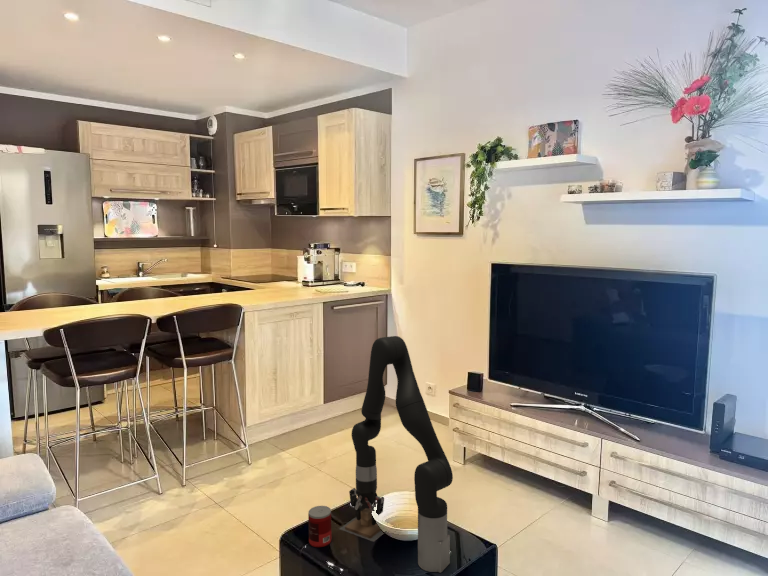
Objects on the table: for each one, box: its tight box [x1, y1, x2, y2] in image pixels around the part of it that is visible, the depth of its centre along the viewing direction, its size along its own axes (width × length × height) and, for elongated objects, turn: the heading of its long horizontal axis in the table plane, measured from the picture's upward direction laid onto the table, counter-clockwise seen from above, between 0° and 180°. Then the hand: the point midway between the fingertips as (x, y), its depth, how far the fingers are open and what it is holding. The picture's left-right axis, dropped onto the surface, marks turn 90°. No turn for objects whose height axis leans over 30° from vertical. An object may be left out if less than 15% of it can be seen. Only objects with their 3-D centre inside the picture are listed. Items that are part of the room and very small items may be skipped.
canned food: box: [307, 505, 333, 548], centre depth 182 cm, size 8×8×11 cm
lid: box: [345, 507, 381, 539], centre depth 191 cm, size 11×11×6 cm
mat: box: [339, 516, 385, 543], centre depth 191 cm, size 15×13×1 cm
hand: (366, 521), depth 191 cm, fingers open, 6 cm apart
